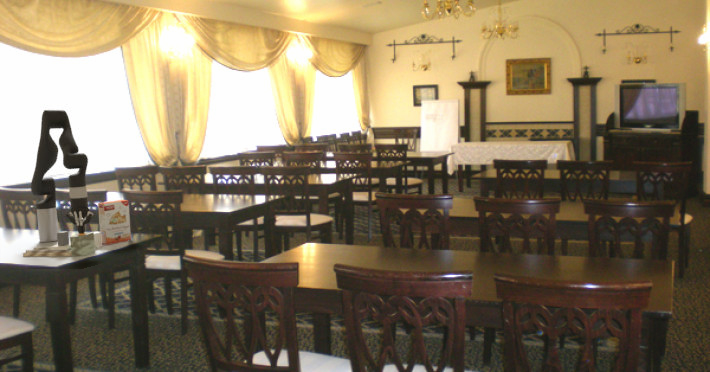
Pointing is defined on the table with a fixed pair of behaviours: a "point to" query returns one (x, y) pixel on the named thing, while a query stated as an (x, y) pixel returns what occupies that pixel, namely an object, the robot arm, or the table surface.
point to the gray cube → (62, 241)
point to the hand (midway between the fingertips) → (81, 233)
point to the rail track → (79, 247)
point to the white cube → (97, 238)
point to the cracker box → (114, 221)
